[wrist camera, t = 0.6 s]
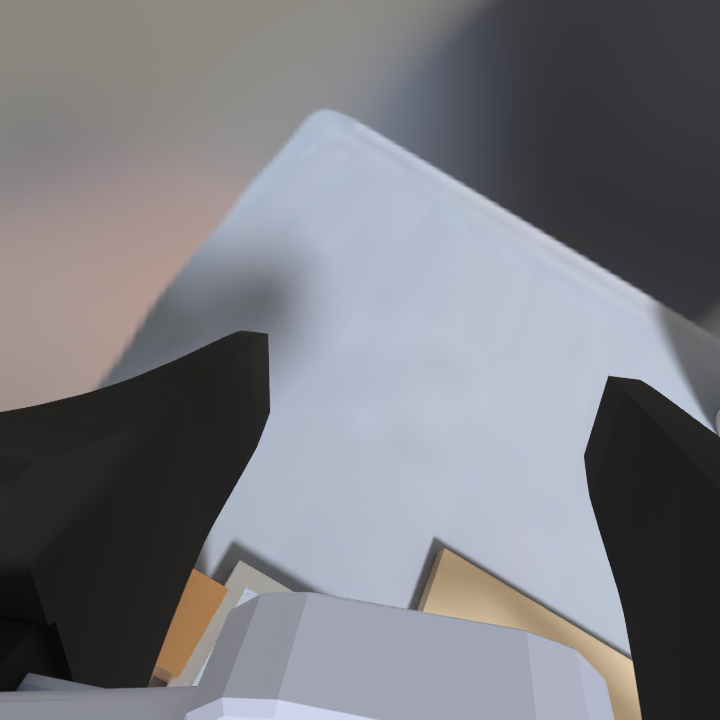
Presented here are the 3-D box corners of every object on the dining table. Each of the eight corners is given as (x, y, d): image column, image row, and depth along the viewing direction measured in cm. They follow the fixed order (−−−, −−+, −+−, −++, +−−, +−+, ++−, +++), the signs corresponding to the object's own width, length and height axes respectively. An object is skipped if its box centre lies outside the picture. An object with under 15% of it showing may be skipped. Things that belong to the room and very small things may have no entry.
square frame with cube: (62, 699, 21) (50, 696, 17) (176, 531, 25) (187, 496, 21) (297, 832, 21) (340, 861, 17) (370, 645, 25) (418, 633, 21)
